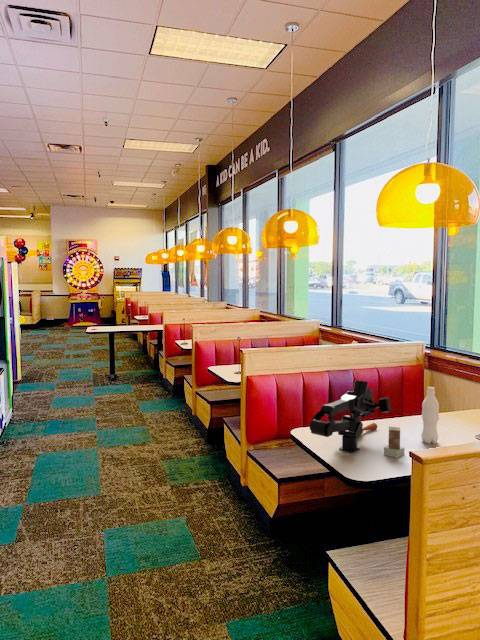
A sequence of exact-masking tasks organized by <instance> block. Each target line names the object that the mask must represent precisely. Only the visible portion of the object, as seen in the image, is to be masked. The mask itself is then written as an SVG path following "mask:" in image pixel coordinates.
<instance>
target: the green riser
mask: <svg viewBox="0 0 480 640" xmlns="http://www.w3.org/2000/svg"><path fill="white" fill-rule="evenodd" d="M388 446H389V444H387V445H386V446H384V447H383V455H386V456H389V457H392V458H395V459H398V458H399V457H402V456H404V455H405V446H401V445H400V450H398V449H388Z"/></svg>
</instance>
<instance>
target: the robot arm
mask: <svg viewBox="0 0 480 640" xmlns="http://www.w3.org/2000/svg"><path fill="white" fill-rule="evenodd" d="M368 386H369V382H368V381H363V380H361V379H359V380H358V379H355V380H354V385H353V391H350V390H347V392H346V393H344V394H343V395H342V396H340V399H338V400H335V401H332V402H330V403H327V404H323V405H322V406H321V408H320V410H319V411H318V412H316V413H315V414H314V415H313V417H312V419H311V421H310V423H309V429H310V433H311V434H313V435H317V436H320V437H321V436H322V437H325V438H329V437H331V436H333V433H337V434H338V436H342V437H341V438H342V439H341V441H342V442H341V444H342V445H341V446H340V447H339V450H342V451H344V452H348V453H350V454H351V453H354V452H357V451H359V450H361V448H360V447H358V438H361V437H362V434H363V433H362V428H364V427H363V426H364V425H363V422H362V420H361V419H360V418H362V419H363V418H364V417H368V416H371V415H374V414H375V413H376V412H375V410H376V409H378V408H379V411H380V413H382V414H386V413H390V412H391V411H392V407H391V400H390V398H389V397H387V396H385V397H382V398H379V399H378V401H377V402H375V399H374V398H373V397H374V391H373V390H372V389H371V388H369V387H368ZM346 410H349V414H351V415H347V414H345V415H342V418H341V420H335V419H336V414H339V413H341V412H343V411H346ZM325 416H330V421H325V420H321V419H322V418H323V417H325ZM348 431H353V432H355V433H352V432H348ZM361 433H362V434H361Z"/></svg>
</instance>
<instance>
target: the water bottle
mask: <svg viewBox="0 0 480 640" xmlns="http://www.w3.org/2000/svg"><path fill="white" fill-rule="evenodd" d="M435 389H436V388H435V386H427V390H426V397H425V398H424V399H423V401H422V404H421V408H422V409H421V419H422V422H423V423H422V424H423V428H422V431H421V433H420V435H421V436H420V437H421V441H422V442H423V443H424V442H425V444H428V445H429V444H436V443H437V442H438V441H439V433H438V429H437V428H438V427H437V426H438V425H437V424H438V422H439V420H440V412H439V411H440V404H439V401H438V399H437V397H436V391H435Z"/></svg>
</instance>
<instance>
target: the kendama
mask: <svg viewBox="0 0 480 640" xmlns="http://www.w3.org/2000/svg"><path fill="white" fill-rule="evenodd" d="M377 429H378V425H377V423H376V422H372V423H370V424H369V425H366V426H364V427H362V433H361V435H363V432H364V431H376V430H377ZM347 431H348V430H347ZM348 432H352V433H355V432H353V431H348Z"/></svg>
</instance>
